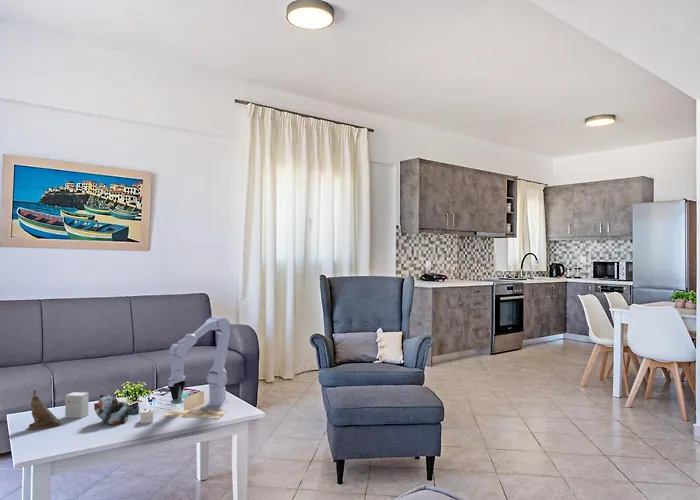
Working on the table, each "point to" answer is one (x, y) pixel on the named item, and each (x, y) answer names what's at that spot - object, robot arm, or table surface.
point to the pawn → (178, 398)
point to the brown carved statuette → (41, 415)
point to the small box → (76, 405)
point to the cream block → (147, 415)
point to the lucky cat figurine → (112, 410)
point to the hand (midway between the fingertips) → (177, 398)
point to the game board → (195, 413)
